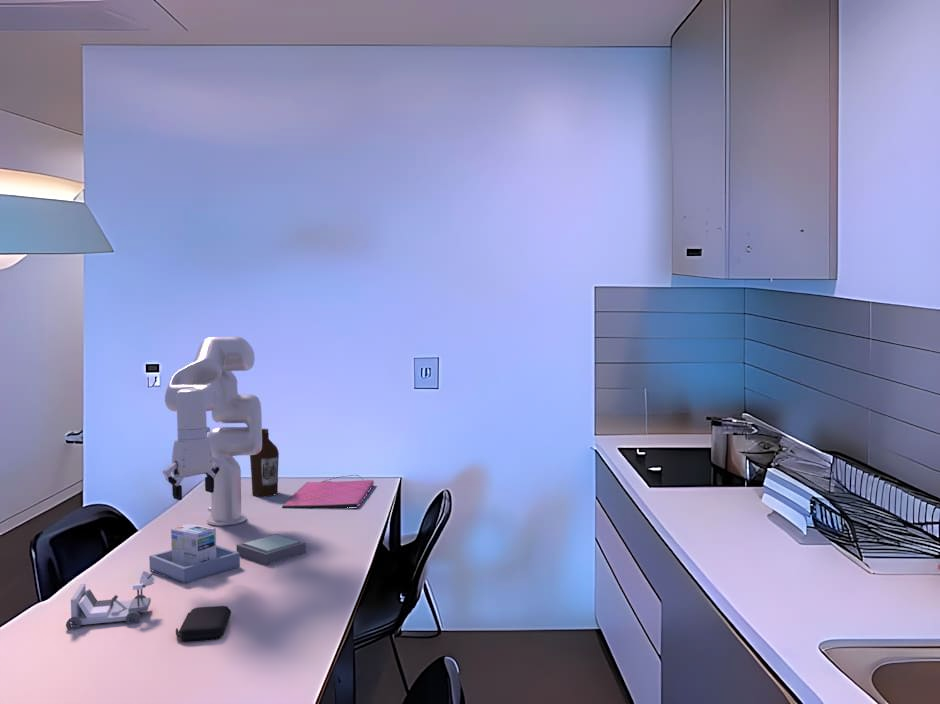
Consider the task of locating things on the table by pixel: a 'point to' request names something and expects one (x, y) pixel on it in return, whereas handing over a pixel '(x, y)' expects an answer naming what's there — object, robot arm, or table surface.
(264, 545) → the pad
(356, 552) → the table surface
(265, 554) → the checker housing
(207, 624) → the carrying case or bag
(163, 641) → the table surface
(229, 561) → the tray
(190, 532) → the light bulb box
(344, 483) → the laptop bag
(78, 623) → the toy car
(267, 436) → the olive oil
